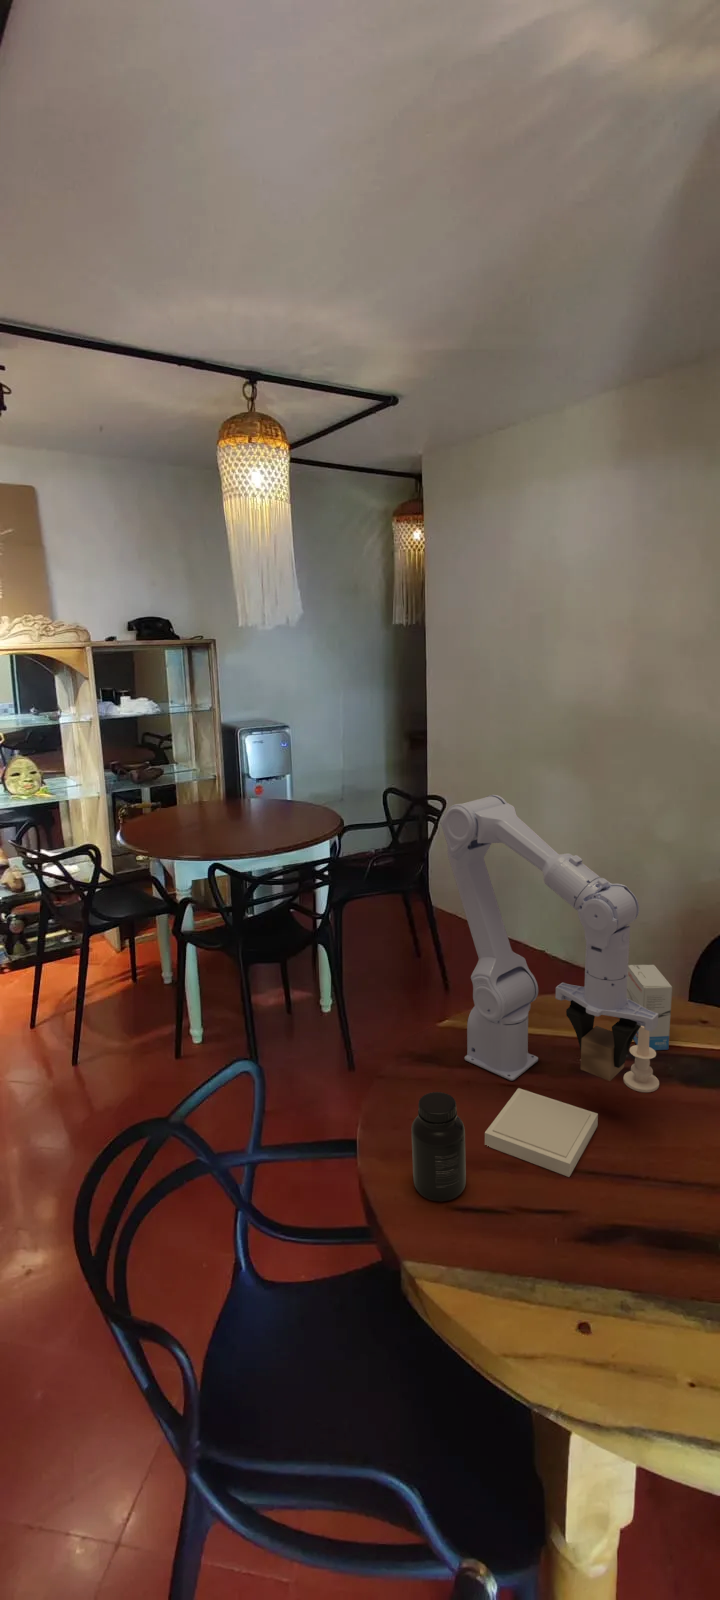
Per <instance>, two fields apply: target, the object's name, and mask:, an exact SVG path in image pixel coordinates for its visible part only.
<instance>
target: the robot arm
mask: <svg viewBox="0 0 720 1600" xmlns="http://www.w3.org/2000/svg"><path fill="white" fill-rule="evenodd" d="M440 825H441V828H442V832H443V835H444V837H445V842H446V844H447V847H446V848H447V851H446V852H447V857H448V860H449V864H450V867H451V871H452V875H453V877H454V881H455V884H456V887H457V892H458V893H459V899H460V901H461V904H462V909H463V910H464V915H465V917H466V920H467V924H468V927H469V931H470V935H471V937H472V940H473V944H474V948H475V951H476V954H477V956H478V961H477V963H476V966H475V967H474V970H473V971H472V973H471V975H470V979H471V980H470V981H471V982H472V999H473V1004H474V1006H473V1008H472V1009H470V1010H471V1011H470V1013H469V1016H468V1017H467V1025H466V1028H467V1029H466V1035H467V1037H466V1040H467V1041H466V1042H467V1044H466V1047H467V1049H466V1050H467V1051H466V1052H467V1054H466V1055H465V1056H464V1060H465V1061H467V1062H469V1063H471V1064H474V1065H476V1066H477V1067H480V1068H482V1069H484V1070H486V1071H488V1072H491V1073H493V1074H495V1075H498V1076H499V1077H502V1078H503V1079H507V1080H508V1081H511V1082H512V1081H515V1080H516V1079H517V1078H519V1076H521V1075H522V1074H523V1073H525V1072H526V1071H528V1070H529V1068H531V1067H532V1066H533V1065H535V1064H536V1063H538V1061H539V1057H538V1056H536V1055H534V1054H531V1053H529V1051H528V1050H529V1046H528V1045H529V1043H528V1042H529V1011H531V1004H532V1003H533V1002H534V1001H536V999H537V997H538V995H539V986H538V981H537V980H536V977H535V975H534V974H533V972H531V970H530V969H529V966H528V964H527V961H526V958H525V957H523V955H520V954H518V953H516V952H514V951H513V949H512V946H511V943H510V940H509V936H508V934H507V931H506V927H505V923H504V919H503V917H502V913H501V910H500V908H499V907H500V906H499V904H498V900H497V897H496V894H495V891H494V887H493V885H492V880H491V877H490V875H489V871H488V868H487V864H486V861H485V856H486V855H487V852H488V851H489V849H490V847H491V845H492V844H501V843H502V844H504V845H505V846H506V847H508V848H509V849H511V851H513V852H515V853H516V854H518V855H519V856H520V857H522V858H523V859H524V860H526V861H527V862H529V863H530V864H531V865H532V866H535V868H537V869H539V870H540V871H541V872H542V876H543V882H544V885H545V886H547V887H548V888H549V889H550V890H551V891H553V892H554V893H555V894H557V895H558V896H559V897H560V898H562V900H564V901H565V902H566V903H567V904H568V905H570V907H571V908H573V909H574V910H575V911H576V912H577V915H578V919H579V922H580V924H581V925H582V927H583V930H584V940H585V968H584V986H582V985H581V986H580V985H574V984H569V983H566V982H561V983H559V984H558V985H557V986H556V987H555V999H556V1000H558V1001H564V1000H566V1001H568V1002H570V1004H569V1007H568V1008H566V1010H565V1011H566V1012H565V1014H566V1017H567V1018H568V1020H569V1021H570V1023H571V1025H572V1027H573V1030H574V1032H575V1035H576V1038H577V1041H578V1045H579V1050H580V1051H581V1041H582V1037H584V1036H585V1035H586V1034H587V1033H588V1032H590V1031H591V1030H592V1029H593V1028H594V1022H595V1017H601V1015H602V1016H606V1017H607V1016H608V1017H614V1018H618V1019H619V1020H618V1021H616V1022H615V1023H614V1024H613V1025H612V1026H611V1031H612V1032H613V1037H614V1067H617V1068H620V1067H621V1066H622V1065H623V1064H624V1065H625V1063H626V1059H627V1055H628V1053H629V1051H630V1048H631V1044H632V1042H633V1041H634V1039H633V1038H634V1037H635V1035H636V1033H637V1032H638V1030H639V1028H640V1027H641V1026H644V1027H645V1030H648V1031H651V1032H652V1031H653V1030H654V1029H655V1028H656V1027H657V1026H658V1013H655V1012H652V1011H650V1010H648V1009H646V1008H644V1007H642V1006H641V1005H639V1004H637V1003H635V1002H633V1001H632V1000H630V999H628V998H627V980H628V965H629V961H630V960H629V957H630V937H631V936H630V935H631V934H630V933H631V925H630V924H632V923H633V922H635V920H636V919H637V918H638V916H639V912H640V905H639V901H638V899H637V896H636V895H635V894H634V893H633V891H631V890H630V888H629V887H628V886H627V885H625V884H621V883H611V882H610V881H609V880H607V879H606V878H604V877H601V876H600V875H598V873H596V872H595V871H593V870H592V869H590V868H589V867H588V866H587V865H586V864H585V863H583V858H581V857H580V856H579V855H578V854H575V855H573V854H572V853H561V854H560V853H558V852H557V851H556V850H554V849H553V847H551V846H550V845H549V844H548V843H547V842H546V841H545V840H543V838H541V837H540V836H539V835H538V834H537V833H536V832H535V831H534V830H533V829H532V828H531V827H529V825H527V823H525V822H524V821H523V820H522V819H521V818H520V817H519V816H518V815H517V812H516V808H515V806H514V805H512V804H510V803H508V802H507V800H506V799H504V798H503V797H502V796H500V795H497V794H490V795H487V796H486V797H482V798H478V799H474V800H470V801H467V802H464V803H455V804H453V805H451V806H449V807H448V808H447V810H446V812H445V814H444V816H443V818H442V820H441V822H440Z"/></svg>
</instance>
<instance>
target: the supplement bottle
mask: <svg viewBox="0 0 720 1600" xmlns="http://www.w3.org/2000/svg"><path fill="white" fill-rule="evenodd" d="M417 1110H418V1111H417V1116H416V1117H415V1118H414V1119H413V1122H412V1123H411V1150H412V1152H411V1153H412V1155H411V1157H412V1176H413V1185H414V1188H415V1190H416V1191H417V1192H418V1194H420V1195H421V1196H422V1197H424V1198H426V1199H428V1200H430V1201H434V1202H447V1201H451V1200H453V1199H456V1198H457V1197H459V1196H460V1195H461V1194H462V1192H463V1191H464V1190H465V1188H466V1184H467V1182H466V1181H467V1178H466V1177H467V1171H466V1170H467V1169H466V1129H465V1126H464V1125H465V1124H464V1122H463V1120H462V1119H461V1118H460V1117H459V1116H458V1110H457V1101H456V1100H455V1098H454V1097H453V1096H451V1095H450V1094H448V1093H445V1092H441V1091H434V1092H433V1091H432V1092H428V1093H425V1094H424V1095H423V1096H421V1097H420V1098H419V1100H418V1109H417Z"/></svg>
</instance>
